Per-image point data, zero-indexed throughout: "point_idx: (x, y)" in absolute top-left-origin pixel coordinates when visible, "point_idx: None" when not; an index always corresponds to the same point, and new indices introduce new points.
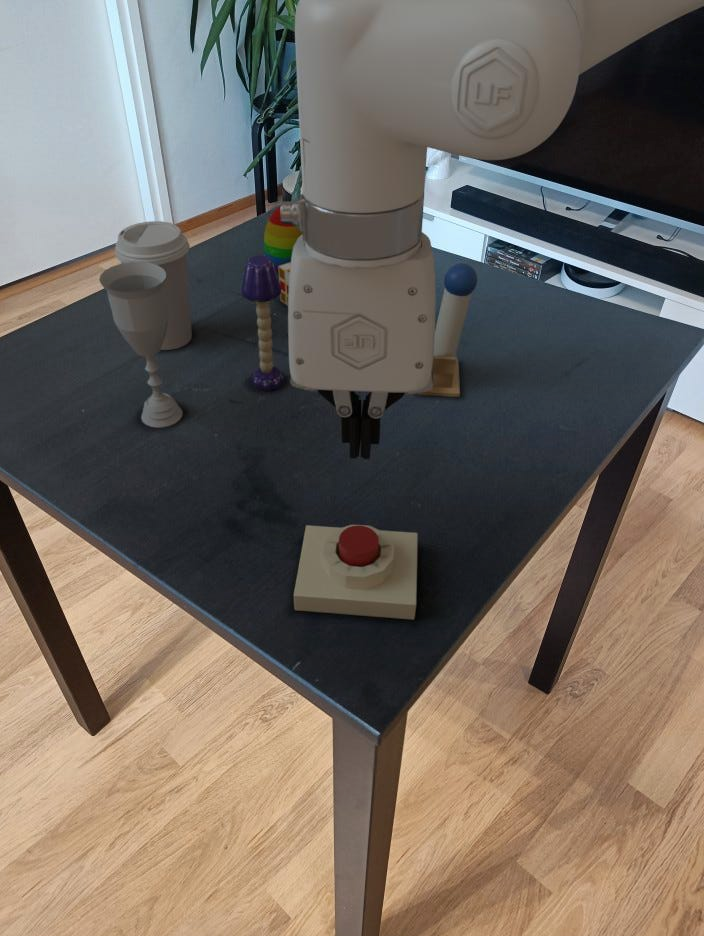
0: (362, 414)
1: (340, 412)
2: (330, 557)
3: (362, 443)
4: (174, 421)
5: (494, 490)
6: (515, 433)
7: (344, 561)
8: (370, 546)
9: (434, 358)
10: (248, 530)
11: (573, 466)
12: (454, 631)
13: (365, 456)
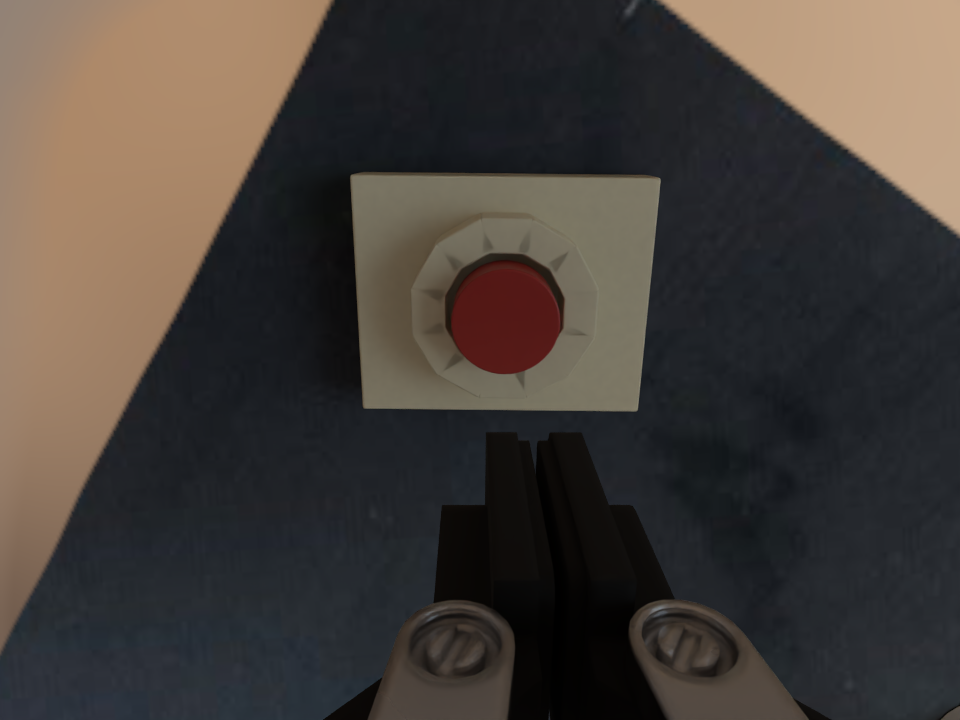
0: (547, 638)
1: (708, 633)
2: (577, 278)
3: (527, 479)
4: (950, 717)
5: (209, 567)
6: None
7: (538, 273)
8: (472, 298)
9: None
10: (764, 410)
11: (44, 646)
12: (266, 146)
13: (506, 435)
